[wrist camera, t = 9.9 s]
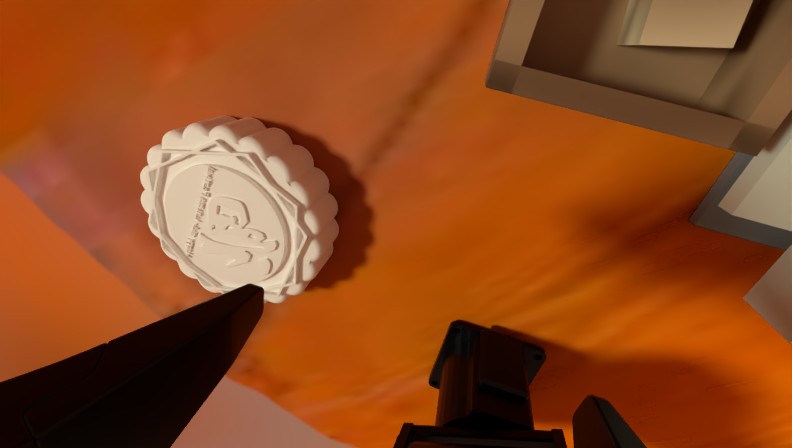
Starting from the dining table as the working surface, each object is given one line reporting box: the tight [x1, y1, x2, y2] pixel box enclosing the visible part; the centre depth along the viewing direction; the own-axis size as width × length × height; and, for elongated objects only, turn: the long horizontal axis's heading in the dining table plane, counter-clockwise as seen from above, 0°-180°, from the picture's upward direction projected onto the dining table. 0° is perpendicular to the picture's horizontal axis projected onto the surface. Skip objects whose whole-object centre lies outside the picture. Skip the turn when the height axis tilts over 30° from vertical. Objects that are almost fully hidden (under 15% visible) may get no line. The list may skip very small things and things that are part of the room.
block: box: [617, 0, 753, 48], centre depth 13 cm, size 3×3×2 cm
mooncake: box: [140, 116, 339, 304], centre depth 22 cm, size 12×12×4 cm
